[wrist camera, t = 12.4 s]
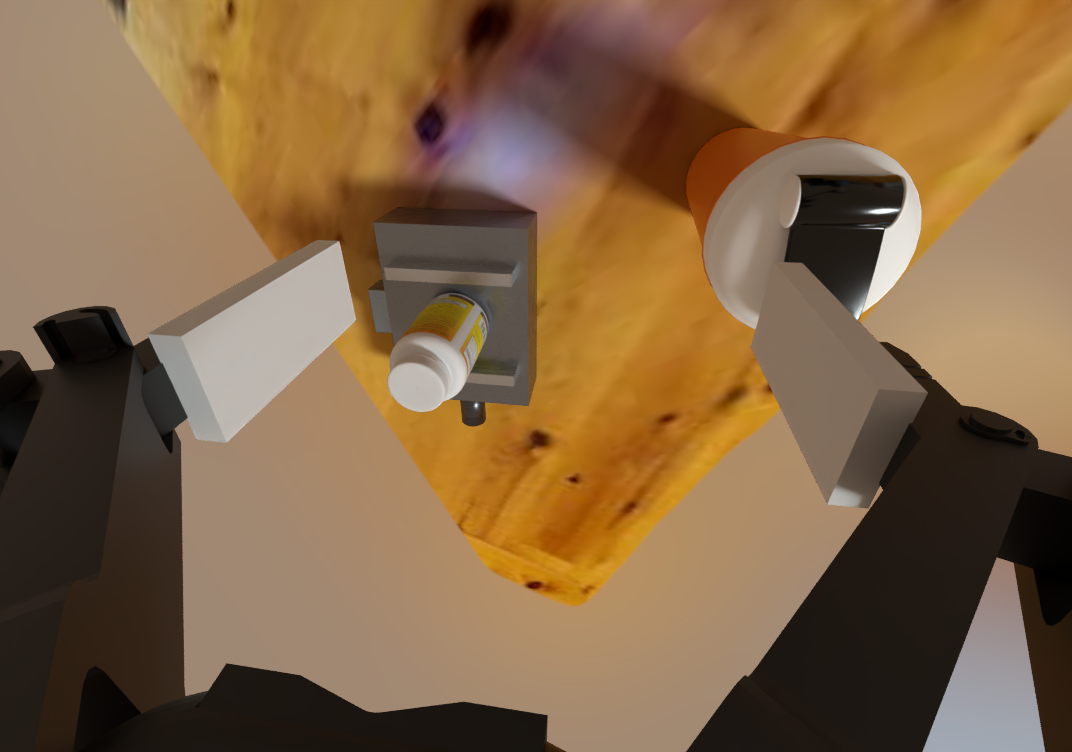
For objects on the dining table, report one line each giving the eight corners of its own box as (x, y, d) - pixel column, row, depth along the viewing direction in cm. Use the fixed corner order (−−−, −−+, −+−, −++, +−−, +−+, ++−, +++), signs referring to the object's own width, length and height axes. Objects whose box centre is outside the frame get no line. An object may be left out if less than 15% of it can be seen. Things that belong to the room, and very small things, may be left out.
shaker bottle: (674, 245, 40) (716, 370, 23) (670, 125, 35) (717, 172, 19) (793, 230, 38) (931, 354, 21) (804, 101, 34) (990, 129, 17)
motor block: (375, 206, 42) (339, 226, 36) (536, 212, 40) (524, 234, 35) (407, 398, 52) (382, 436, 47) (536, 409, 51) (526, 450, 45)
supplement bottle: (412, 311, 41) (357, 374, 32) (462, 278, 39) (417, 336, 30) (453, 361, 43) (413, 433, 34) (503, 332, 41) (472, 401, 32)
